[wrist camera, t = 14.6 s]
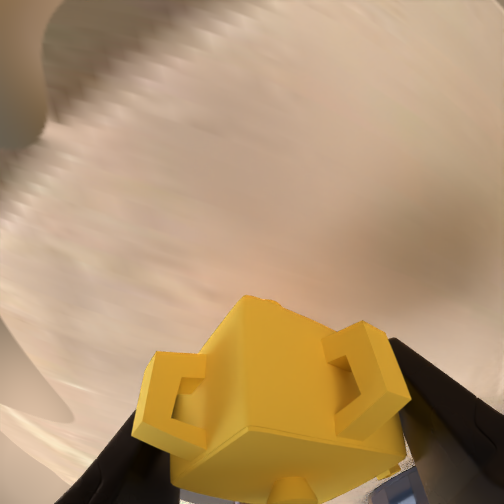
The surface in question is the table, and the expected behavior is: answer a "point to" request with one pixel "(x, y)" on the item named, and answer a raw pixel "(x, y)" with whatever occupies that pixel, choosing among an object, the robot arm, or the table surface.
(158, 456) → the robot arm
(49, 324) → the table surface
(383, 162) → the table surface
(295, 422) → the teapot
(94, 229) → the table surface
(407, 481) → the pot
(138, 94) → the table surface
